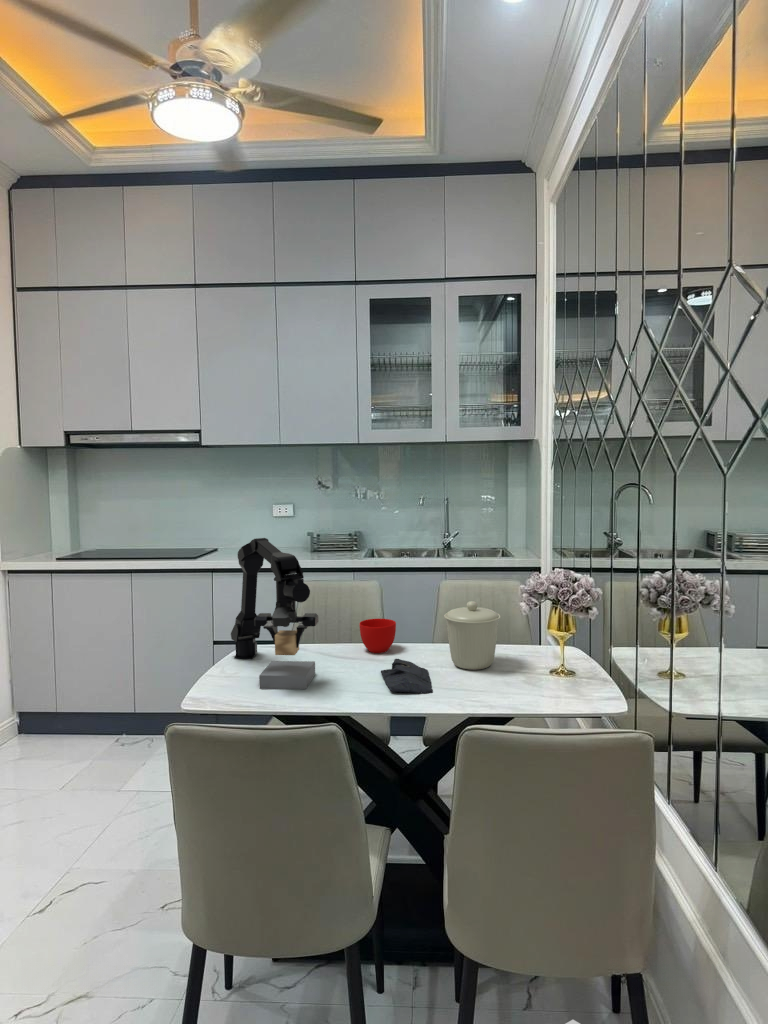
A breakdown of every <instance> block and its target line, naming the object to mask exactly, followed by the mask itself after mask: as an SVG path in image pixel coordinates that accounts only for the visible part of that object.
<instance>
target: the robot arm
mask: <svg viewBox="0 0 768 1024" xmlns="http://www.w3.org/2000/svg"><path fill="white" fill-rule="evenodd" d="M237 560H238V565H239V567H240V568H241V569H242V583H241V585H242V586H241V606H240V608H241V609H240V611H239V612H238V614H237V616H236V617H235V621H234V626H233V628H232V630H231V631H230V639H231V640H232V641H233V642H235V644H234V645H235V656H234V657H233V658H234V659H241V660H242V659H247V660H248V659H249V660H250V659H251V660H252V659H253V658H255V656H257V655H258V642H257V641H256V639H259V638H260V635H261V627H262V628H263V629H264V630H266V631H268V632H269V634H270V636H271V638H272V641H273V644H274V645H275V635H276V634H277V633H278V631H279V630H278V627H283V628H287V627H289V626H290V624H293V623H294V624H298V625H297V627H296V630H297V640H296V647H297V648H298V647H299V648H300V643H301V640H302V637H303V635H304V631H305V630H306V629H308V627H316V626H317V625H318V624H319V615H318V613H317V612H316V613H311V612H310V613H309V612H307V613H304V615H303V616H300V615H299V616H298V614H297V609H296V603H304V602H306V601H307V600H308V599H309V598H310V595H311V589H310V587H309V585H308V584H306V583H305V582H304V581H305V580H304V579H305V577H304V571H303V569H302V567H301V564H300V562H299V560H298V558H297V557H296V556H295V554H294V555H293V554H292V553H290V552H289V553H288V552H283V551H281V550H280V549H279V548H278V547H276V546H275V545H274V544H273V543H271V542H270V541H269V539H268V538H267V537H258V538H253V539H252V540H250V541H249V542H248V543H246V544H244V545H243V546H241V547H240V549H239V550H238V552H237ZM264 560H266V561H267V562H268V563H269V564H270V571H272V572H273V574H274V576H275V577H274V578H273V580H274V582H275V590H276V591H275V595H276V596H275V597H276V602H275V607H274V611H273V613H270V612H268V613H267V612H261V613H258V614H257V613H256V605H257V589H258V573H259V572H260V570H261V568H262V567H263V565H264Z"/></svg>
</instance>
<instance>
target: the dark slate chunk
mask: <svg viewBox="0 0 768 1024" xmlns="http://www.w3.org/2000/svg"><path fill="white" fill-rule="evenodd" d="M380 673H381V677H382V679H383V681H384V682H385V683H386V685H387V687H388V689H389V690H390V691H391V692H393V693H411V694H430V693H431V694H433V693H434V689H433V685H432V679H431V676H430V673H429V671H428V669H426V668H424V667H421V666H419V665H417V664H416V663H414V662H412V661H408V660H404V659H401V658H394V659H393V662H392V663H391V668H389V669H387V668H386V669H383V670H380Z"/></svg>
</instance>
